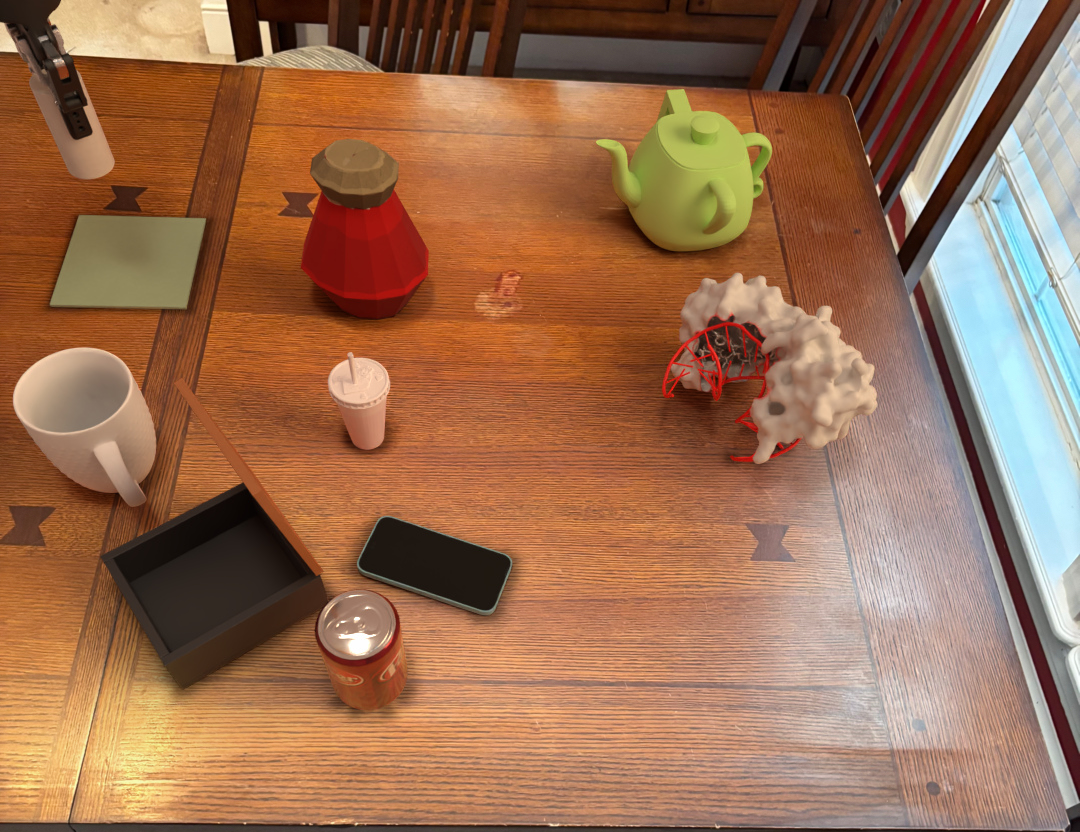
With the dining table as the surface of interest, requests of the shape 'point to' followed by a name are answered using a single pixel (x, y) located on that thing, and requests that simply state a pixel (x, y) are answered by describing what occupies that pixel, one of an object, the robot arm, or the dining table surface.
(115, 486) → the mug
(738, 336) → the protein dna model
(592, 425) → the dining table surface
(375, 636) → the soda can
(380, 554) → the smartphone
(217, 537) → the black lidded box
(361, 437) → the smoothie
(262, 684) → the dining table surface
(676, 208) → the teapot
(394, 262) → the bottle
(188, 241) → the mat
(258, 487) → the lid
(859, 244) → the dining table surface
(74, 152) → the white cylinder
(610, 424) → the dining table surface
